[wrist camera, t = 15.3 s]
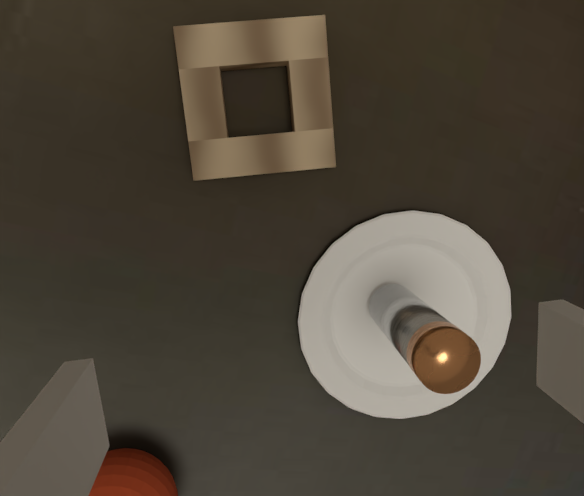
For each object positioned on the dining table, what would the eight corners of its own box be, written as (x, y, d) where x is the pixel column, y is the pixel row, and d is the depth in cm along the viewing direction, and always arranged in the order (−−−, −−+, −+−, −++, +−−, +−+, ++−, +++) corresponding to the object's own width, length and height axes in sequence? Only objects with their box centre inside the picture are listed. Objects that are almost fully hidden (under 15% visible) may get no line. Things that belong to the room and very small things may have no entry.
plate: (544, 311, 49) (555, 317, 47) (394, 449, 50) (399, 459, 48) (410, 161, 44) (416, 162, 43) (251, 317, 46) (251, 323, 44)
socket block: (196, 179, 42) (193, 180, 40) (177, 34, 40) (172, 26, 38) (331, 166, 43) (336, 167, 41) (320, 23, 41) (325, 14, 38)
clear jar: (369, 331, 45) (417, 397, 33) (367, 285, 45) (414, 334, 32) (416, 326, 46) (481, 389, 33) (414, 280, 45) (480, 327, 32)
